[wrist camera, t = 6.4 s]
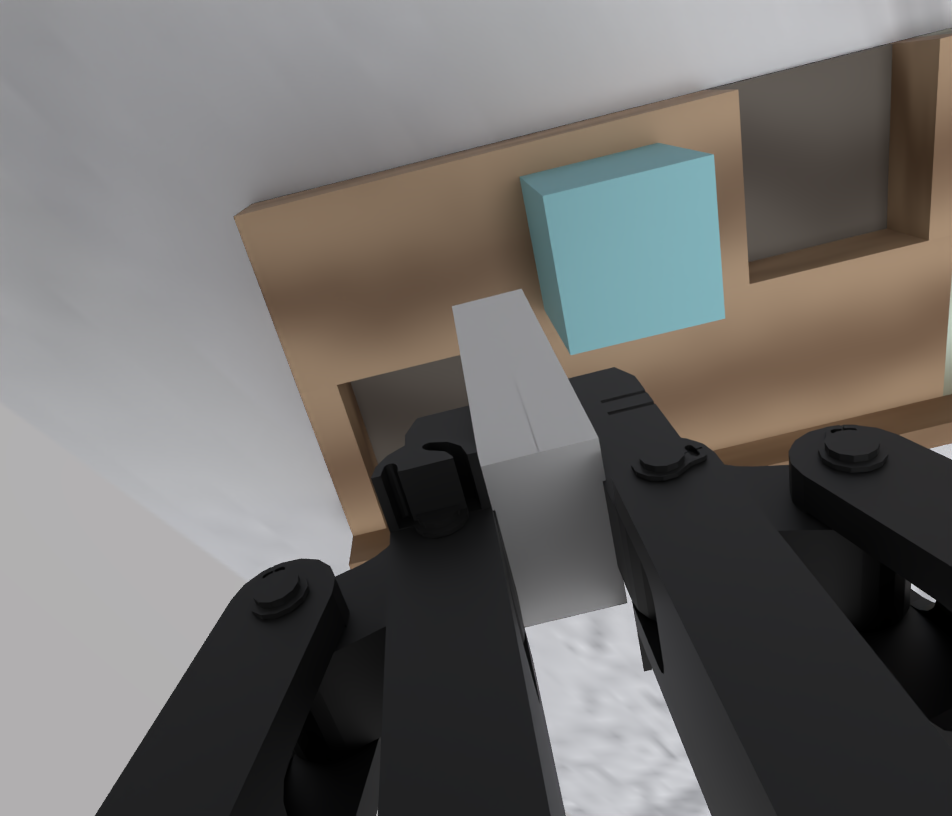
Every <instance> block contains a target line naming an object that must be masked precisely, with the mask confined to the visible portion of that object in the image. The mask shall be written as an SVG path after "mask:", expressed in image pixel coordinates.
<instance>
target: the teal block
mask: <svg viewBox="0 0 952 816" xmlns="http://www.w3.org/2000/svg"><path fill="white" fill-rule="evenodd" d="M520 183H521V188H522V193H523V199H524V204H525V209H526V215H527V220H528V225H529V231H530V236H531V241H532V247H533V252H534V257H535V263H536V268H537V273H538V279H539V284H540V289H541V295H542V300H543V305H544V310H545V312H546V314H547V315H548V317H549V319H550V321H551V322H552V324H553V326H554V328H555V329H556V331H557V333H558V334H559V336H560V338H561V340H562V341H563V343H564V345H565V347H566V348H567V350H568V352H569V353H570V355H574V354H578V353H582V352H587V351H591V350H595V349H599V348H603V347H608V346H612V345H616V344H620V343H624V342H629V341H633V340H637V339H641V338H646V337H650V336H654V335H658V334H662V333H667V332H671V331H675V330H679V329H683V328H688V327H692V326H696V325H700V324H704V323H709V322H713V321H717V320H721V319H725V307H724V293H723V278H722V264H721V250H720V235H719V221H718V206H717V192H716V177H715V163H714V154H710V153H705V152H700V151H695V150H691V149H686V148H681V147H676V146H671V145H667V144H662V143H655V144H651V145H647V146H643V147H639V148H635V149H631V150H627V151H622V152H618V153H614V154H610V155H606V156H602V157H598V158H594V159H590V160H586V161H582V162H577V163H573V164H569V165H565V166H561V167H557V168H553V169H549V170H545V171H541V172H537V173H532V174H528V175H524V176H520Z"/></svg>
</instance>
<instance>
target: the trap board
mask: <svg viewBox="0 0 952 816" xmlns="http://www.w3.org/2000/svg"><path fill="white" fill-rule="evenodd" d="M655 143H662V144H667V145H671V146H676V147H681V148H686V149H691V150H695V151H700V152H705V153H710V154H714V163H715V177H716V192H717V206H718V221H719V235H720V250H721V264H722V278H723V293H724V307H725V319H721V320H717V321H713V322H709V323H704V324H700V325H696V326H692V327H688V328H683V329H679V330H675V331H671V332H667V333H662V334H658V335H654V336H650V337H646V338H641V339H637V340H633V341H629V342H624V343H620V344H616V345H612V346H608V347H603V348H599V349H595V350H591V351H587V352H582V353H578V354H574V355H570V353H569V352H568V350H567V348H566V347H565V345H564V343H563V341H562V340H561V338H560V336H559V334H558V333H557V331H556V329H555V328H554V326H553V324H552V322H551V321H550V319H549V317H548V315H547V314H546V312H545V310H544V305H543V300H542V295H541V289H540V284H539V279H538V273H537V268H536V263H535V257H534V252H533V247H532V241H531V236H530V231H529V225H528V220H527V215H526V209H525V204H524V199H523V193H522V188H521V183H520V176H524V175H528V174H532V173H537V172H541V171H545V170H549V169H553V168H557V167H561V166H565V165H569V164H573V163H577V162H582V161H586V160H590V159H594V158H598V157H602V156H606V155H610V154H614V153H618V152H622V151H627V150H631V149H635V148H639V147H643V146H647V145H651V144H655ZM234 219H235V222H236V225H237V227H238V230H239V233H240V235H241V238H242V241H243V243H244V246H245V249H246V251H247V254H248V257H249V259H250V262H251V265H252V267H253V270H254V273H255V275H256V278H257V281H258V283H259V286H260V289H261V291H262V294H263V297H264V299H265V302H266V305H267V307H268V310H269V313H270V315H271V318H272V321H273V323H274V326H275V329H276V331H277V334H278V337H279V339H280V342H281V345H282V347H283V350H284V353H285V356H286V358H287V361H288V364H289V366H290V369H291V372H292V374H293V377H294V380H295V382H296V385H297V388H298V390H299V393H300V396H301V398H302V401H303V404H304V406H305V409H306V412H307V414H308V417H309V420H310V422H311V425H312V428H313V430H314V433H315V436H316V438H317V441H318V444H319V446H320V449H321V452H322V454H323V457H324V460H325V462H326V465H327V468H328V470H329V473H330V476H331V478H332V481H333V484H334V486H335V489H336V492H337V494H338V497H339V500H340V502H341V505H342V508H343V510H344V513H345V516H346V518H347V521H348V524H349V526H350V529H351V532H352V534H353V541H352V548H351V554H350V561H349V566H350V569H353V568H355V567H357V566H359V565H361V564H363V563H365V562H366V561H368V560H370V559H372V558H374V557H375V556H377V555H378V554H379V553H380V552H382V551H383V550H384V549H386V548H387V547H388V546H389V545H390V531H389V528H388V525H387V522H386V520H385V517H384V514H383V511H382V508H381V506H380V503H379V500H378V497H377V494H376V492H375V489H374V486H373V483H372V480H371V477H372V474H373V472H374V470H375V467H376V466H377V465H378V464H379V463H380V462H381V461H382V460H383V459H384V458H385V457H386V456H387V455H389V454H391V453H392V452H394V451H396V450H398V449H399V448H401V447H403V446H405V434H406V433H407V432H408V430H409V429H410V427H411V426H412V424H413V423H414V422H415V420H416V419H417V418H420V417H424V416H428V415H432V414H436V413H440V412H444V411H448V410H452V409H456V408H460V407H464V406H468V405H469V401H468V396H467V390H466V384H465V379H464V373H463V367H462V361H461V356H460V350H459V344H458V338H457V333H456V327H455V321H454V315H453V310H452V306H455V305H459V304H463V303H467V302H471V301H475V300H479V299H483V298H487V297H491V296H495V295H499V294H502V293H506V292H510V291H514V290H518V289H522V291H523V292H524V294H525V296H526V298H527V300H528V302H529V304H530V306H531V308H532V310H533V312H534V314H535V316H536V318H537V320H538V322H539V323H540V325H541V327H542V329H543V331H544V333H545V335H546V337H547V339H548V341H549V343H550V345H551V347H552V349H553V351H554V353H555V354H556V356H557V358H558V360H559V362H560V364H561V366H562V368H563V370H564V372H565V374H566V376H567V378H572V377H576V376H580V375H584V374H588V373H592V372H596V371H600V370H604V369H608V368H612V367H616V368H618V369H620V370H622V371H625V372H627V373H629V374H632V375H634V376H635V377H636V378H637V379H638V381H639V382H640V383H641V385H642V386H643V387H644V389H645V392H647V393H648V394H649V396H650V397H651V398H652V400H653V401H654V404H656V405H657V406H658V408H659V409H660V410H661V412H662V413H663V414H664V416H665V417H666V418H667V420H668V421H669V422H670V424H671V425H672V426H673V428H674V429H675V430H676V432H677V433H678V434H679V436H680V437H681V438H687V439H690V440H694V441H697V442H700V443H703V444H705V445H706V446H707V447H708V448H710V449H711V450H712V451H714V452H715V453H716V454H717V456H718V457H719V458H720V459H721V461H722V462H723V463H724V464H725V465H732V466H774V465H789V453H788V451H789V450H790V448H791V446H792V444H793V443H794V441H795V440H796V439H798V438H800V437H801V436H803V435H804V434H806V433H808V432H810V431H813V430H817V429H821V428H825V427H828V426H835V425H840V426H841V425H859V426H867V427H876V428H880V429H883V430H886V431H889V432H892V433H895V434H898V435H900V436H902V437H904V438H907V439H909V440H911V441H913V442H915V443H917V444H919V445H921V446H924V447H926V448H928V449H929V448H934V447H938V446H942V445H946V444H951V443H952V28H949V29H945V30H941V31H937V32H933V33H929V34H925V35H921V36H917V37H913V38H909V39H905V40H901V41H897V42H893V43H889V44H885V45H881V46H877V47H873V48H869V49H865V50H862V51H858V52H854V53H850V54H846V55H842V56H838V57H834V58H830V59H826V60H822V61H818V62H814V63H810V64H806V65H802V66H798V67H794V68H790V69H786V70H782V71H778V72H774V73H770V74H766V75H762V76H758V77H754V78H750V79H746V80H742V81H738V82H734V83H730V84H727V85H723V86H719V87H715V88H711V89H707V90H703V91H699V92H695V93H691V94H687V95H683V96H679V97H675V98H671V99H667V100H663V101H659V102H655V103H651V104H647V105H643V106H639V107H635V108H631V109H627V110H623V111H619V112H615V113H611V114H607V115H603V116H599V117H595V118H592V119H588V120H584V121H580V122H576V123H572V124H568V125H564V126H560V127H556V128H552V129H548V130H544V131H540V132H536V133H532V134H528V135H524V136H520V137H516V138H512V139H508V140H504V141H500V142H496V143H492V144H488V145H484V146H480V147H476V148H472V149H468V150H464V151H460V152H456V153H453V154H449V155H445V156H441V157H437V158H433V159H429V160H425V161H421V162H417V163H413V164H409V165H405V166H401V167H397V168H393V169H389V170H385V171H381V172H377V173H373V174H369V175H365V176H361V177H357V178H353V179H349V180H345V181H341V182H337V183H333V184H329V185H325V186H321V187H318V188H314V189H310V190H306V191H302V192H298V193H294V194H290V195H286V196H282V197H278V198H274V199H270V200H266V201H262V202H258V203H254V204H251V205H250V206H248V207H247V208H245V209H244V210H242V211H241V212H239V213H238V214H237V215H235V216H234Z"/></svg>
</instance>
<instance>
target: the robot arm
mask: <svg viewBox="0 0 952 816" xmlns="http://www.w3.org/2000/svg"><path fill="white" fill-rule="evenodd" d="M452 310H453V315H454V321H455V327H456V333H457V338H458V344H459V350H460V356H461V361H462V367H463V373H464V379H465V384H466V390H467V396H468V401H469V405H468V406H464V407H460V408H456V409H452V410H448V411H444V412H440V413H436V414H432V415H428V416H424V417H420V418H417V419H416V420H415V422H414V423H413V424H412V426H411V427H410V429H409V430H408V432H407V433H406V434H405V446H403V447H401V448H399V449H398V450H396V451H394V452H392V453H391V454H389V455H387V456H386V457H385V458H384V459H383V460H382V461H381V462H380V463H379V464H378V465H377V466H376V467H375V470H374V472H373V474H372V477H371V480H372V483H373V486H374V489H375V492H376V494H377V497H378V500H379V503H380V506H381V508H382V511H383V514H384V517H385V520H386V522H387V525H388V528H389V531H390V545H389V546H388V547H387V548H386V549H384V550H383V551H382V552H380V553H379V554H378V555H377V556H375V557H374V558H372V559H370V560H368V561H366V562H365V563H363V564H361V565H359V566H357V567H355V568H353V569H351V570H349V571H346V572H344V573H342V574H340V575H338V576H336V577H335V576H334V574H333V571H332V569H331V567H330V566H329V565H327V564H325V563H323V562H322V561H320V560H316V559H297V560H293V561H288V562H283V563H280V564H278V565H275V566H274V567H272V568H271V567H270V568H269V569H267V570H265V571H263V572H261V573H260V574H258V575H257V576H256V577H254V578H253V579H252V580H250V581H249V582H247V583H246V584H245V585H244V586H243V587H242V588H241V589H240V590H239V591H238V593H237V594H236V595H235V596H234V597H233V599H232V600H231V601H230V603H229V604H228V606H227V607H226V609H225V611H224V612H223V614H222V615H221V617H220V618H219V620H218V622H217V623H216V625H215V627H214V628H213V630H212V631H211V633H210V634H209V636H208V638H207V639H206V641H205V642H204V644H203V645H202V647H201V649H200V650H199V652H198V653H197V655H196V657H195V658H194V660H193V661H192V663H191V664H190V666H189V668H188V669H187V671H186V673H185V674H184V675H183V677H182V679H181V680H180V682H179V684H178V685H177V687H176V689H175V690H174V691H173V693H172V694H171V696H170V698H169V699H168V701H167V703H166V704H165V706H164V707H163V709H162V710H161V712H160V713H159V715H158V717H157V718H156V720H155V721H154V723H153V725H152V726H151V728H150V729H149V731H148V733H147V734H146V736H145V737H144V739H143V740H142V742H141V744H140V745H139V747H138V748H137V750H136V752H135V753H134V755H133V756H132V758H131V759H130V761H129V763H128V764H127V766H126V767H125V769H124V770H123V772H122V774H121V775H120V777H119V778H118V780H117V782H116V783H115V785H114V786H113V788H112V790H111V791H110V793H109V794H108V796H107V797H106V799H105V801H104V802H103V804H102V805H101V807H100V808H99V810H98V812H97V813H96V815H95V816H376V814H377V810H378V816H566V815H565V810H564V805H563V801H562V796H561V791H560V786H559V782H558V777H557V772H556V768H555V763H554V758H553V753H552V749H551V744H550V739H549V734H548V730H547V725H546V720H545V715H544V711H543V706H542V701H541V696H540V692H539V687H538V682H537V677H536V673H535V668H534V663H533V659H532V654H531V651H530V647H529V643H528V640H527V636H526V632H525V627H529V626H533V625H537V624H541V623H546V622H550V621H554V620H558V619H562V618H566V617H571V616H575V615H579V614H583V613H587V612H592V611H596V610H600V609H604V608H608V607H612V606H617V605H621V604H625V603H627V598H626V592H625V587H624V583H625V585H626V588H627V590H628V592H629V595H630V597H631V599H632V603H633V609H634V615H635V621H636V627H637V632H638V638H639V644H640V650H641V656H642V662H643V668H644V671H648V670H652V669H653V671H654V674H655V676H656V679H657V681H658V684H659V686H660V689H661V691H662V694H663V696H664V699H665V701H666V704H667V706H668V708H669V711H670V713H671V716H672V718H673V721H674V723H675V726H676V728H677V731H678V733H679V736H680V738H681V741H682V743H683V746H684V748H685V751H686V753H687V756H688V758H689V761H690V763H691V766H692V768H693V771H694V773H695V776H696V778H697V781H698V783H699V786H700V788H701V791H702V793H703V795H704V798H705V800H706V803H707V805H708V808H709V810H710V813H711V815H712V816H952V460H951V459H949V458H947V457H945V456H943V455H941V454H938V453H936V452H934V451H932V450H930V449H928V448H926V447H924V446H921V445H919V444H917V443H915V442H913V441H911V440H909V439H907V438H904V437H902V436H900V435H898V434H895V433H892V432H889V431H886V430H883V429H880V428H876V427H867V426H859V425H841V426H840V425H835V426H828V427H825V428H821V429H817V430H813V431H810V432H808V433H806V434H804V435H803V436H801V437H800V438H798V439H796V440H795V441H794V443H793V444H792V446H791V448H790V450H789V451H788V453H789V465H774V466H732V465H725V464H724V463H723V462H722V461H721V459H720V458H719V457H718V456H717V454H716V453H715V452H714V451H712V450H711V449H710V448H708V447H707V446H706V445H705V444H703V443H700V442H697V441H694V440H690V439H687V438H681V437H680V436H679V434H678V433H677V432H676V430H675V429H674V428H673V426H672V425H671V424H670V422H669V421H668V420H667V418H666V417H665V416H664V414H663V413H662V412H661V410H660V409H659V408H658V406H657V405H656V404H654V401H653V400H652V398H651V397H650V396H649V394H648V393H647V392H645V389H644V387H643V386H642V385H641V383H640V382H639V381H638V379H637V378H636V377H635V376H634V375H632V374H629V373H627V372H625V371H622V370H620V369H618V368H616V367H612V368H608V369H604V370H600V371H596V372H592V373H588V374H584V375H580V376H576V377H572V378H567V376H566V374H565V372H564V370H563V368H562V366H561V364H560V362H559V360H558V358H557V356H556V354H555V353H554V351H553V349H552V347H551V345H550V343H549V341H548V339H547V337H546V335H545V333H544V331H543V329H542V327H541V325H540V323H539V322H538V320H537V318H536V316H535V314H534V312H533V310H532V308H531V306H530V304H529V302H528V300H527V298H526V296H525V294H524V292H523V291H522V289H518V290H514V291H510V292H506V293H502V294H499V295H495V296H491V297H487V298H483V299H479V300H475V301H471V302H467V303H463V304H459V305H455V306H452ZM623 580H624V581H623ZM911 583H912V584H913V585H915V586H916V587H918V588H919V589H921V590H922V591H924V592H925V593H927V594H928V595H930V596H931V597H932V598H934V599H935V600H936V603H934V602H931V601H929V600H927V599H925V598H923V597H922V596H920V595H919V594H918V593H916V592H915V591H913V590H912V589H911Z"/></svg>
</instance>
